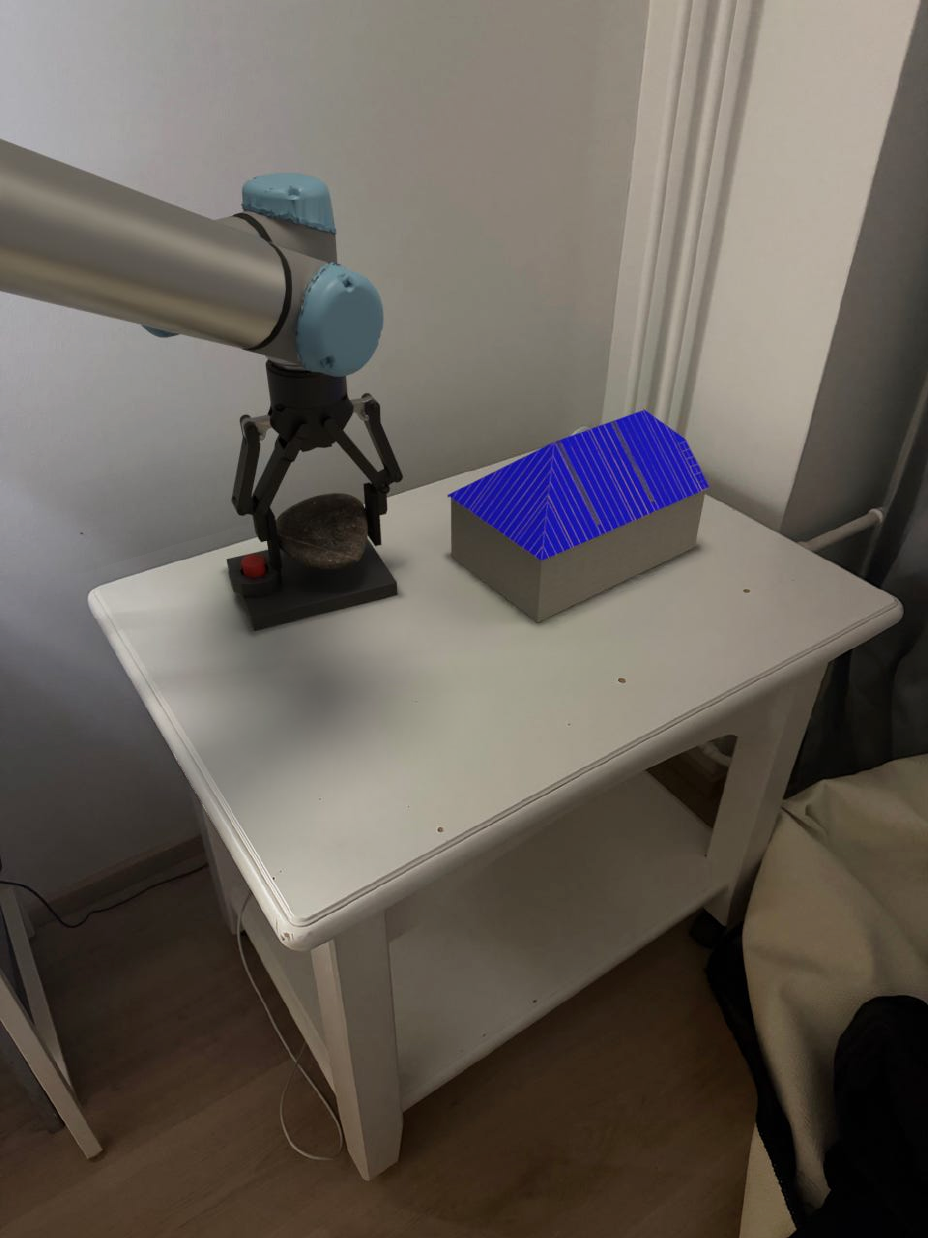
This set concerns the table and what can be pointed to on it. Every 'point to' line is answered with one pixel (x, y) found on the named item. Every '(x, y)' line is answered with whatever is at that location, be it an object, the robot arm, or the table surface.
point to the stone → (324, 531)
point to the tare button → (253, 566)
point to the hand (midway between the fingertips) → (325, 550)
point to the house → (580, 514)
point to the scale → (308, 588)
